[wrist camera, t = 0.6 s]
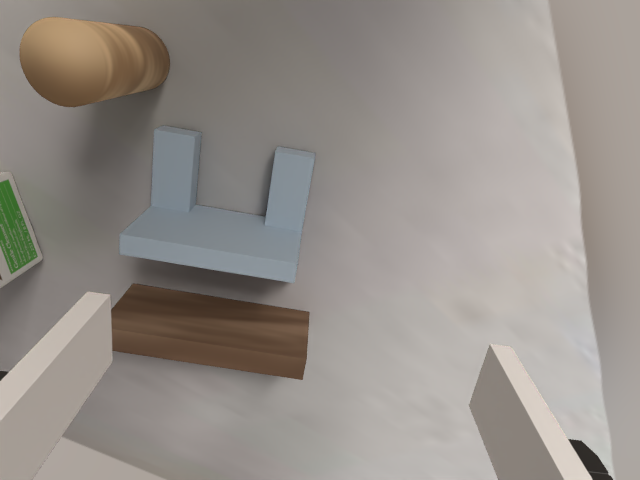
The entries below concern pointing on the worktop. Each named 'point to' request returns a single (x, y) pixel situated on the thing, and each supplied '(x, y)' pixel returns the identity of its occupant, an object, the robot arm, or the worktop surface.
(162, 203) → the fork block
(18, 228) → the skincare box
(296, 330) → the board
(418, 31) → the worktop surface
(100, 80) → the dowel
